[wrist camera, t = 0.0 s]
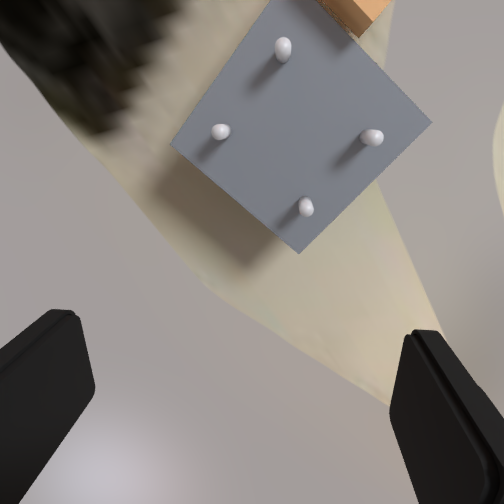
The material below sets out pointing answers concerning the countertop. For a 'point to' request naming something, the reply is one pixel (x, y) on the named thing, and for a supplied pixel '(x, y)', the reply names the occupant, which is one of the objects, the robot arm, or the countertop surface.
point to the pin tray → (298, 122)
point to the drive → (357, 12)
